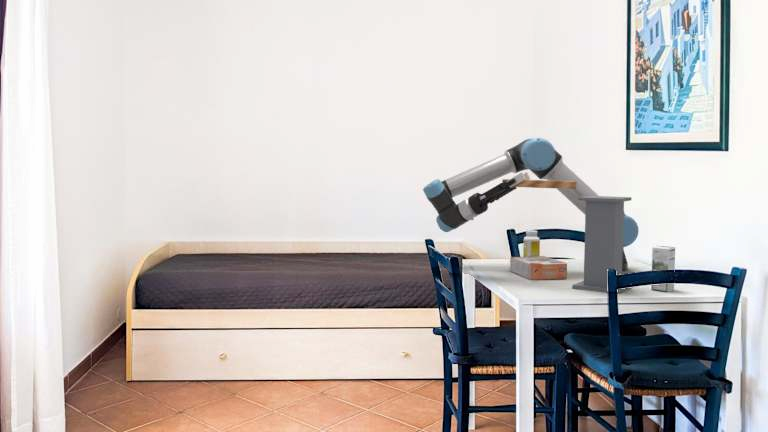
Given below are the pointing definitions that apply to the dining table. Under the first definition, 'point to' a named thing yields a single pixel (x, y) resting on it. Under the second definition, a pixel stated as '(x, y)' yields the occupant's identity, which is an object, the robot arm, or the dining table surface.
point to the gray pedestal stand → (602, 240)
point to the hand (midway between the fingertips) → (526, 175)
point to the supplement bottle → (531, 244)
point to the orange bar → (545, 184)
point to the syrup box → (663, 264)
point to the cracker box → (538, 267)
